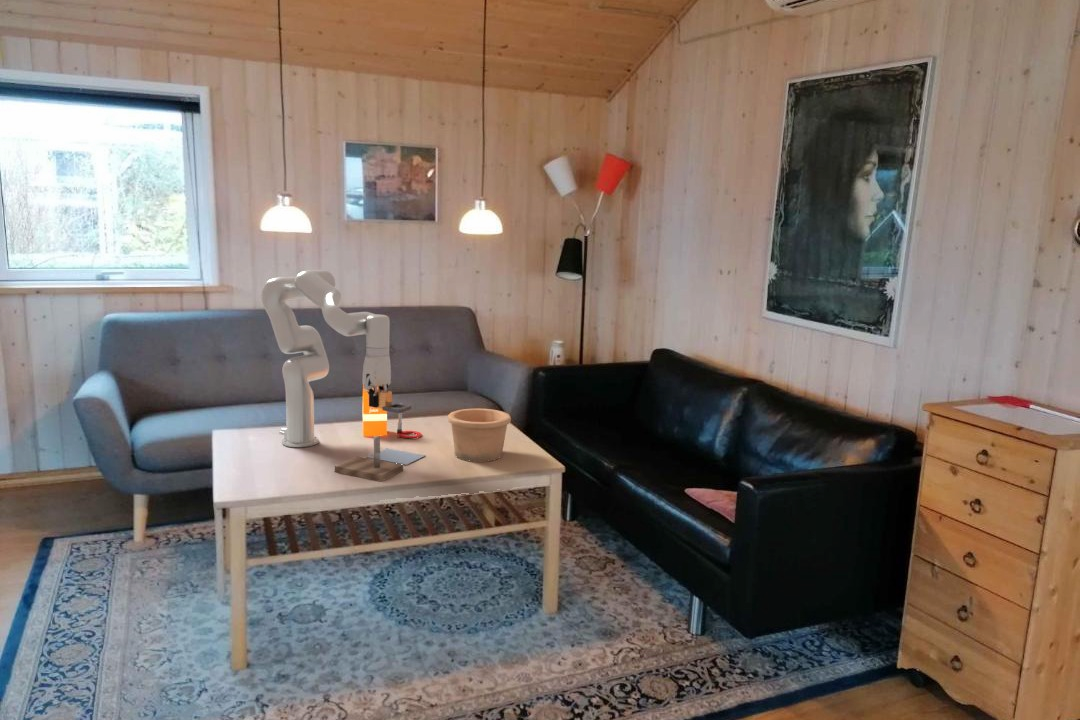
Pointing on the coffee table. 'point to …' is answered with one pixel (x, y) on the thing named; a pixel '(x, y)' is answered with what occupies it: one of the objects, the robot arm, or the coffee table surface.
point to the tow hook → (401, 433)
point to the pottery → (478, 433)
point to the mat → (397, 456)
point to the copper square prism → (389, 402)
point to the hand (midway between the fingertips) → (377, 405)
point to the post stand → (369, 466)
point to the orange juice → (373, 419)
